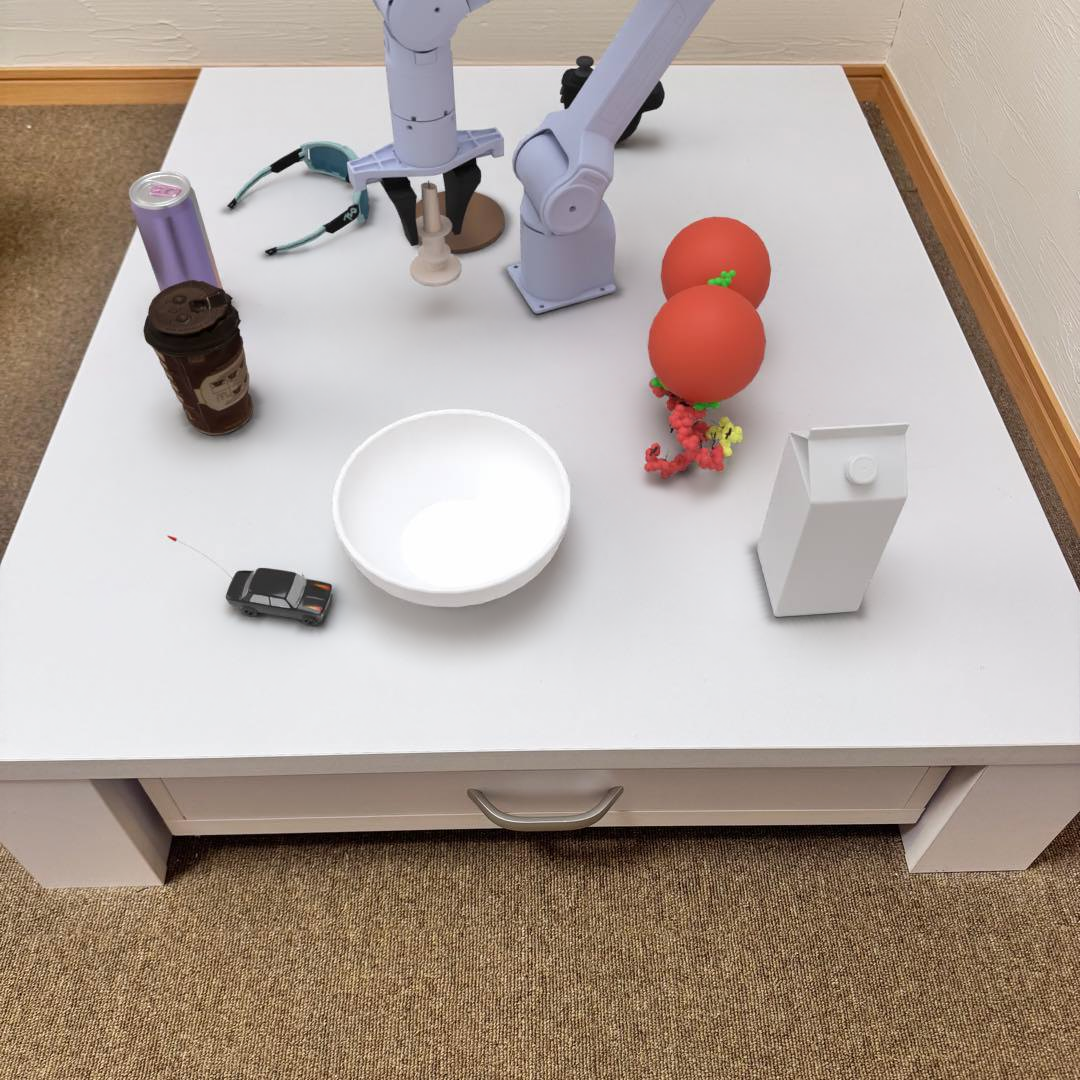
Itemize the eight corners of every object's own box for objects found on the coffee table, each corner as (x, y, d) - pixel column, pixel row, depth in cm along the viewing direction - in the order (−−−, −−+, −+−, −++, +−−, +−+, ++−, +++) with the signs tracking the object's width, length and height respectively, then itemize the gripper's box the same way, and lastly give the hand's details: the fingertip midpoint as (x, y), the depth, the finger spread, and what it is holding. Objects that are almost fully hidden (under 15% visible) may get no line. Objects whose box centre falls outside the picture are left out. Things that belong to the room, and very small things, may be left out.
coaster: (483, 185, 125) (483, 180, 124) (519, 239, 118) (519, 234, 118) (394, 207, 122) (393, 202, 121) (426, 263, 116) (426, 258, 115)
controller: (563, 126, 132) (565, 47, 124) (661, 137, 131) (669, 59, 123) (556, 145, 130) (557, 66, 122) (656, 157, 128) (664, 78, 120)
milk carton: (755, 549, 92) (799, 393, 77) (836, 544, 93) (895, 387, 78) (773, 618, 88) (823, 466, 73) (857, 612, 88) (924, 460, 73)
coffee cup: (283, 393, 104) (256, 287, 93) (242, 453, 99) (208, 348, 89) (204, 373, 105) (169, 266, 95) (160, 430, 101) (117, 325, 90)
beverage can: (215, 336, 109) (176, 211, 97) (160, 328, 109) (115, 203, 97) (237, 299, 112) (202, 173, 100) (184, 291, 113) (143, 166, 101)
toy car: (324, 630, 87) (308, 574, 81) (185, 609, 88) (158, 552, 82) (338, 592, 89) (323, 535, 83) (202, 571, 91) (178, 513, 84)
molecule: (627, 306, 111) (680, 179, 100) (724, 336, 113) (788, 214, 101) (608, 475, 95) (669, 345, 83) (722, 507, 96) (798, 384, 85)
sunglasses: (394, 217, 121) (384, 181, 116) (279, 278, 117) (265, 243, 113) (336, 157, 128) (325, 121, 123) (226, 213, 124) (210, 178, 120)
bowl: (396, 678, 84) (386, 630, 79) (311, 508, 95) (297, 455, 89) (610, 586, 90) (615, 534, 84) (507, 435, 100) (506, 380, 95)
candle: (431, 248, 110) (424, 157, 101) (472, 266, 108) (467, 176, 100) (399, 274, 107) (388, 183, 99) (440, 294, 105) (432, 203, 97)
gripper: (482, 65, 97) (486, 194, 108) (329, 99, 93) (349, 228, 104) (512, 104, 93) (513, 233, 104) (354, 140, 90) (372, 271, 100)
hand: (433, 234), depth 104 cm, fingers closed on candle, 4 cm apart
